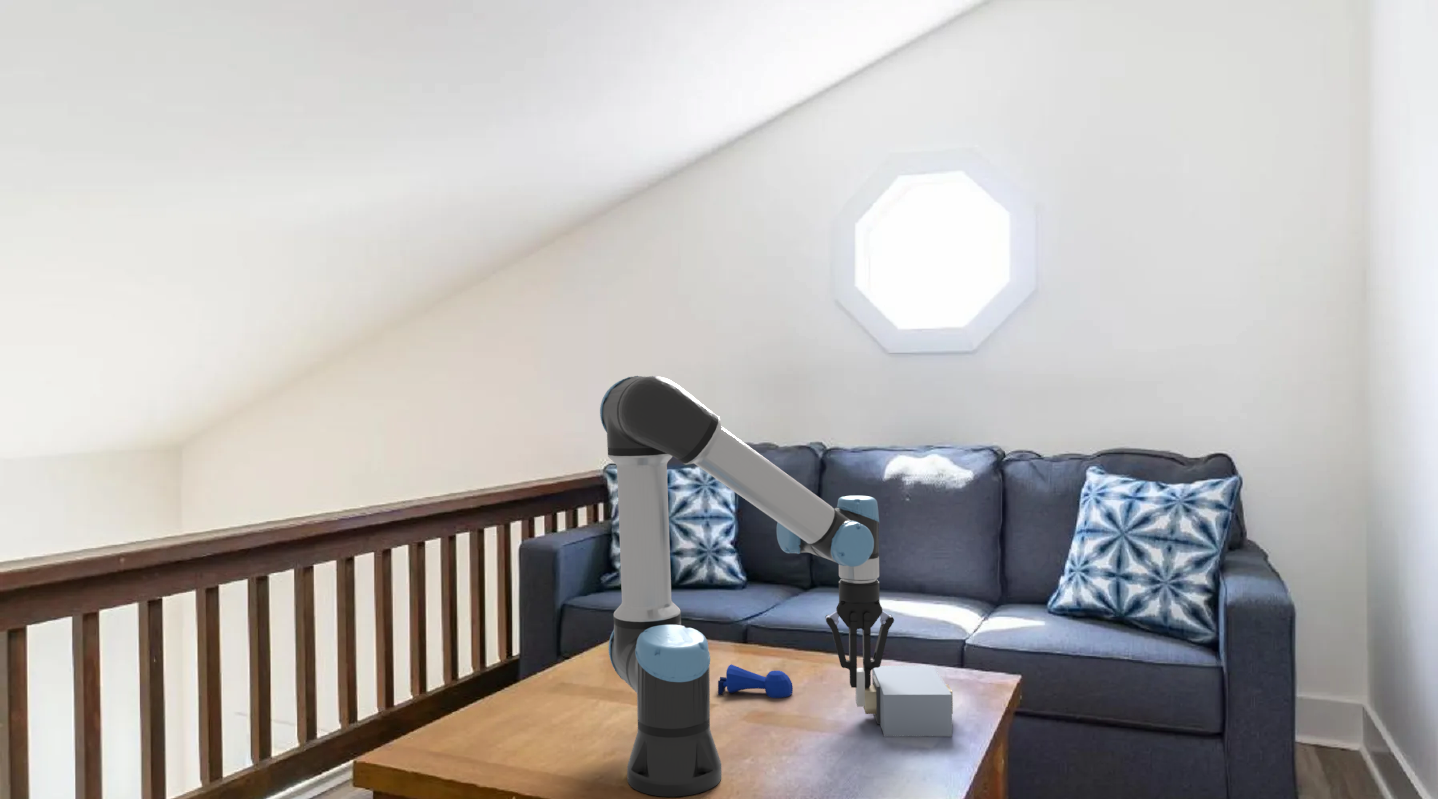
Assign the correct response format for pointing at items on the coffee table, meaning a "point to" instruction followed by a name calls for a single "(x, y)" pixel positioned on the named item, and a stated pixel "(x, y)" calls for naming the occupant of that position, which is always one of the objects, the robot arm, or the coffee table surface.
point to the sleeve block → (912, 701)
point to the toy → (756, 682)
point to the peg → (871, 700)
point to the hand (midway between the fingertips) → (860, 704)
